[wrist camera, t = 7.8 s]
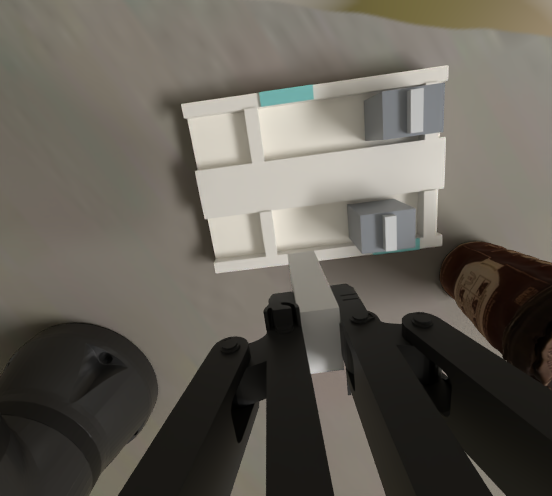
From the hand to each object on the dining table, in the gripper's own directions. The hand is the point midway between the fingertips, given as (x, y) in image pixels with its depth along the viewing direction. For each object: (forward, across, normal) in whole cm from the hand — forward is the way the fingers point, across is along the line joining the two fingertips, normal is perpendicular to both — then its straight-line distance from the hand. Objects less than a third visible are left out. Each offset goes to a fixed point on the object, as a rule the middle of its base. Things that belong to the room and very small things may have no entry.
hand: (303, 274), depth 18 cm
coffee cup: (+12, +17, -7) cm, 22 cm away
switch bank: (+12, +3, +4) cm, 13 cm away
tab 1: (+10, +9, +8) cm, 16 cm away
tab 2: (+10, +7, 0) cm, 12 cm away
